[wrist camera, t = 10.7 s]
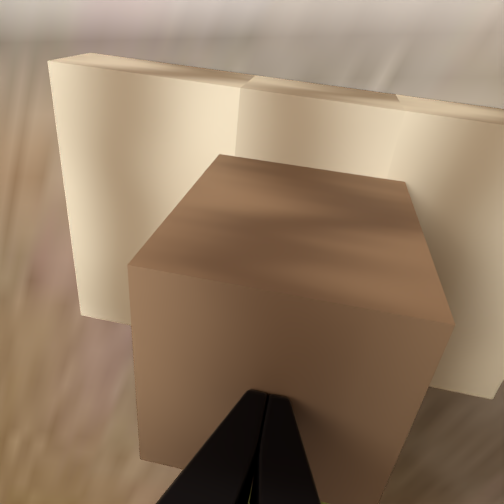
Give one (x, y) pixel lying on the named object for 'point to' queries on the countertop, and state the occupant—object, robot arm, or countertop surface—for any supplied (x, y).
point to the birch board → (287, 152)
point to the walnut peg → (288, 317)
